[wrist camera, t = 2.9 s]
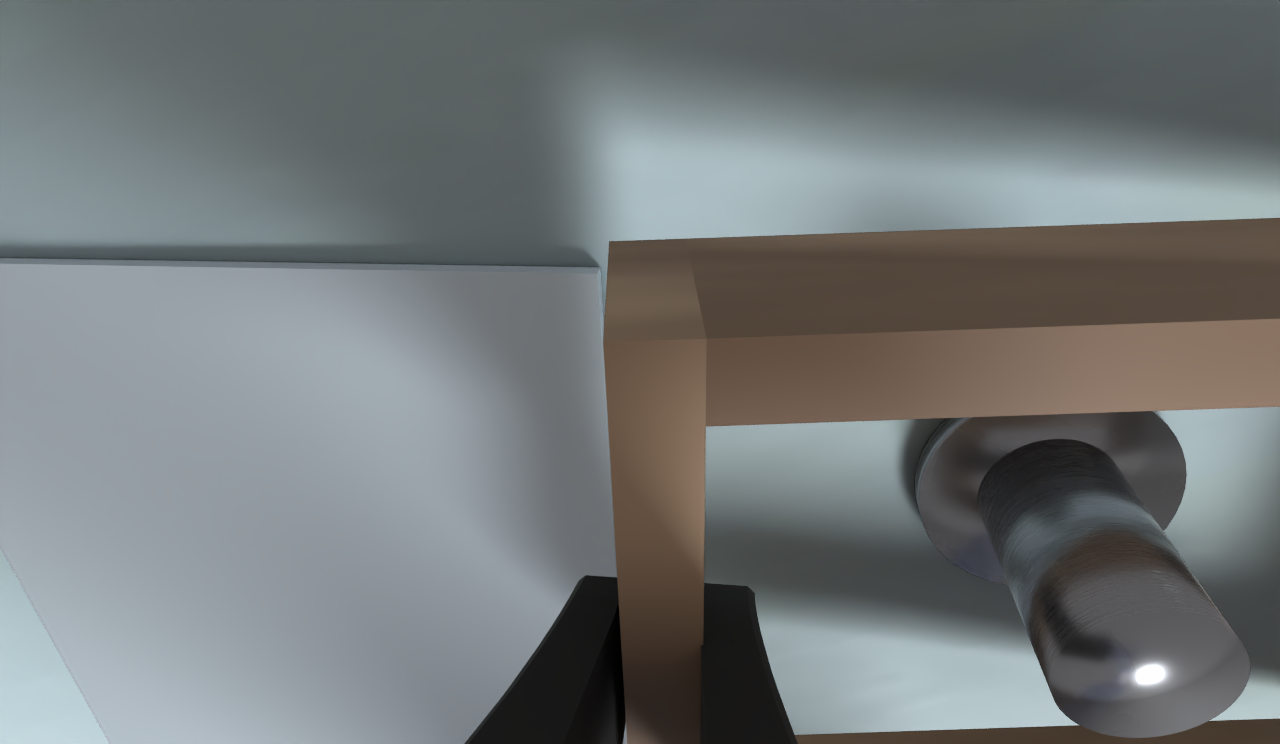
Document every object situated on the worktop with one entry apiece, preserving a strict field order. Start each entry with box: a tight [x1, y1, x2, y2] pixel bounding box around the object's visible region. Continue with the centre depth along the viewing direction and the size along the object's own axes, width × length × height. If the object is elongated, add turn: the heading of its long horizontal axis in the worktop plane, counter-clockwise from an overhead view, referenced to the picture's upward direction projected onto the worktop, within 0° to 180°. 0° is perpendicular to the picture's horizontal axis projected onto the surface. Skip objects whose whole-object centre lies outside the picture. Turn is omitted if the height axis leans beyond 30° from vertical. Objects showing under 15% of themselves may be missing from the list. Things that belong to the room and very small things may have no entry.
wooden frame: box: [603, 218, 1280, 744], centre depth 11 cm, size 11×14×3 cm
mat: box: [0, 258, 627, 744], centre depth 18 cm, size 18×15×1 cm
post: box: [915, 411, 1250, 738], centre depth 12 cm, size 4×4×4 cm
